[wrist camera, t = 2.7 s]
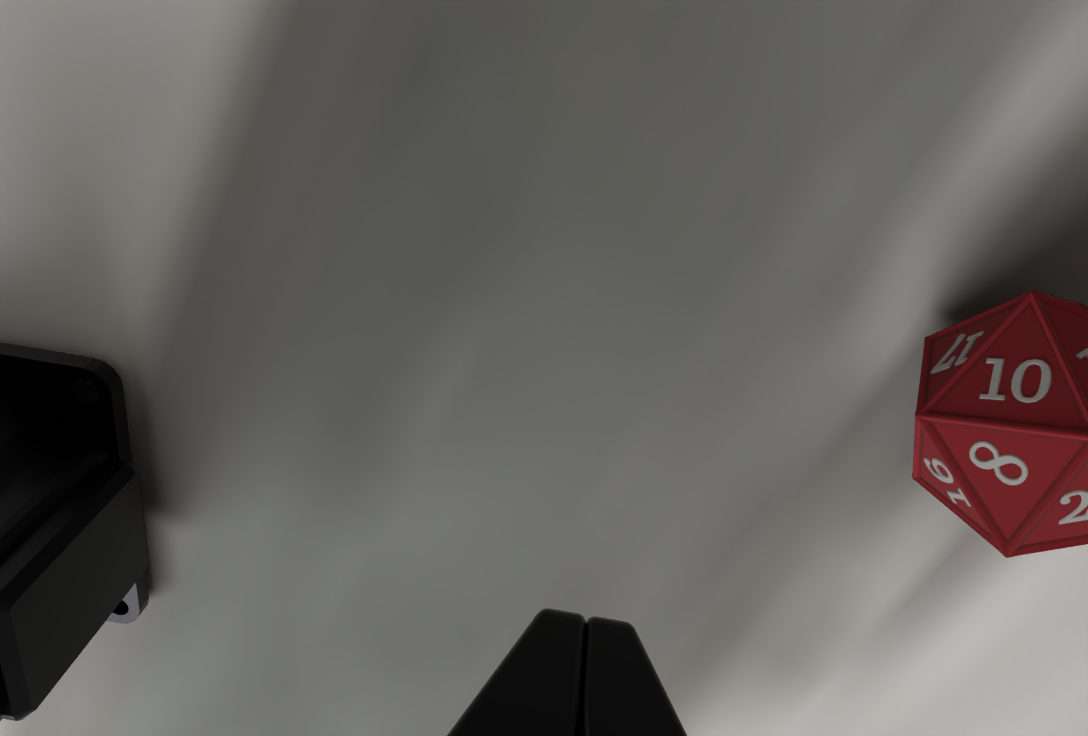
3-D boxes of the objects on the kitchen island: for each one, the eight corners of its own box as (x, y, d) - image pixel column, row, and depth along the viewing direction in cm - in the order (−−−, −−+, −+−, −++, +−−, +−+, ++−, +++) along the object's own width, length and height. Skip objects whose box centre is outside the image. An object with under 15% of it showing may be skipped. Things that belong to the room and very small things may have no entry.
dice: (902, 489, 16) (971, 649, 13) (862, 272, 14) (931, 387, 11) (1125, 447, 15) (1266, 606, 12) (1114, 211, 13) (1277, 314, 10)
